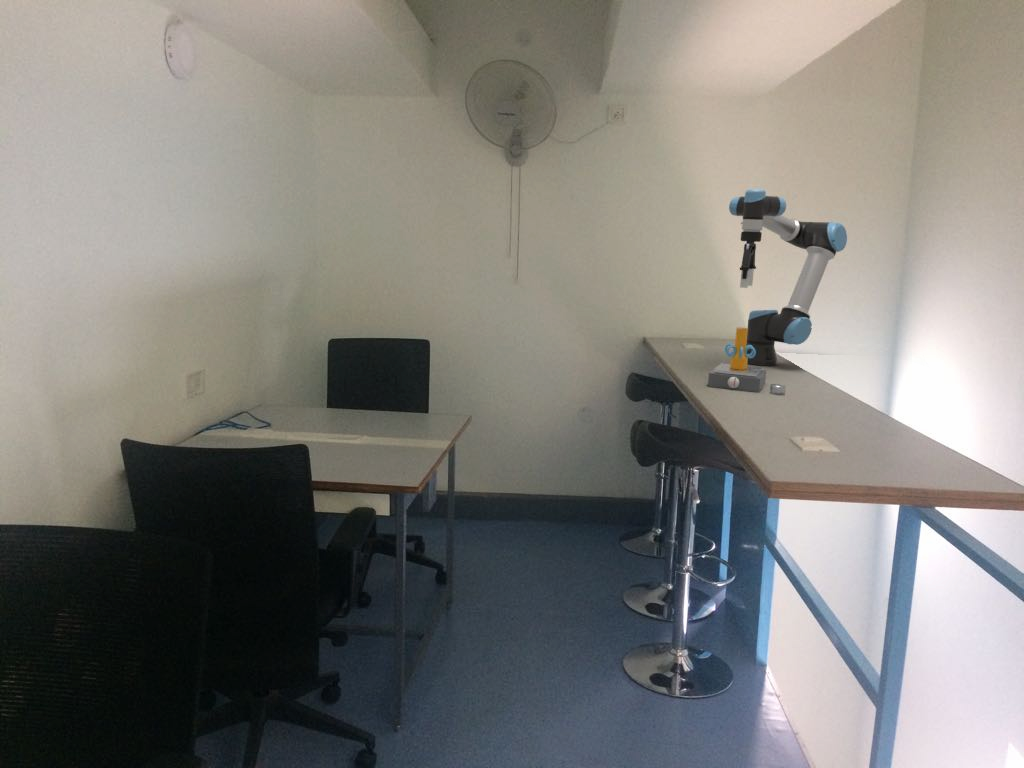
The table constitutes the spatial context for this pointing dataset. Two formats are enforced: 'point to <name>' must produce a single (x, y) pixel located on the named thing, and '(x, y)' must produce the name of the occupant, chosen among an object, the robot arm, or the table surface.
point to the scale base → (737, 381)
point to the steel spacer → (777, 389)
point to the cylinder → (740, 350)
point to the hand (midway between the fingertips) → (746, 286)
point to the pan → (747, 372)
